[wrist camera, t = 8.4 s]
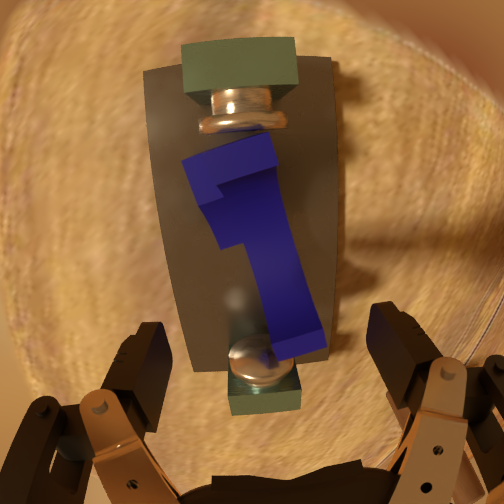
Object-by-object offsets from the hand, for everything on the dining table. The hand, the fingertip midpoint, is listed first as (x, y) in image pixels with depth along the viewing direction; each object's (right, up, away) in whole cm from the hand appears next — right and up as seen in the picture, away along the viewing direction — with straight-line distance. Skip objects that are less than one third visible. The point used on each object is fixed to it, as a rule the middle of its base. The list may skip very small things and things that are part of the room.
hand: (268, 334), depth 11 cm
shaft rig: (-1, +4, +10) cm, 11 cm away
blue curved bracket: (-1, +4, +9) cm, 10 cm away
